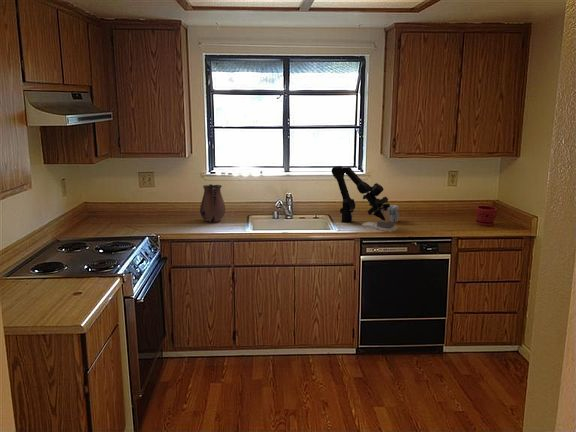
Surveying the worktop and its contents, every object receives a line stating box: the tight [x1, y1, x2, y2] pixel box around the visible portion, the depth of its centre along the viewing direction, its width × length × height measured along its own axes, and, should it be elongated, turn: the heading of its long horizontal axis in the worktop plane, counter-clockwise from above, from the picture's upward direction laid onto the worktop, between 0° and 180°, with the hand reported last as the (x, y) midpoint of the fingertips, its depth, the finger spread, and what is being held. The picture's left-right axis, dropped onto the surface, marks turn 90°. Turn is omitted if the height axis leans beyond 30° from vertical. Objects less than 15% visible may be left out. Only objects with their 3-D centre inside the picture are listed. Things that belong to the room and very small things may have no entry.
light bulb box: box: [387, 204, 400, 223], centre depth 343 cm, size 11×7×11 cm, turn 143°
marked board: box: [361, 221, 398, 233], centre depth 326 cm, size 22×8×2 cm, turn 46°
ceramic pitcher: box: [199, 183, 226, 223], centre depth 344 cm, size 18×21×25 cm
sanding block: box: [376, 210, 395, 228], centre depth 322 cm, size 9×6×10 cm, turn 46°
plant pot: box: [475, 205, 498, 227], centre depth 333 cm, size 13×13×12 cm
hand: (386, 219), depth 322 cm, fingers closed on sanding block, 4 cm apart
